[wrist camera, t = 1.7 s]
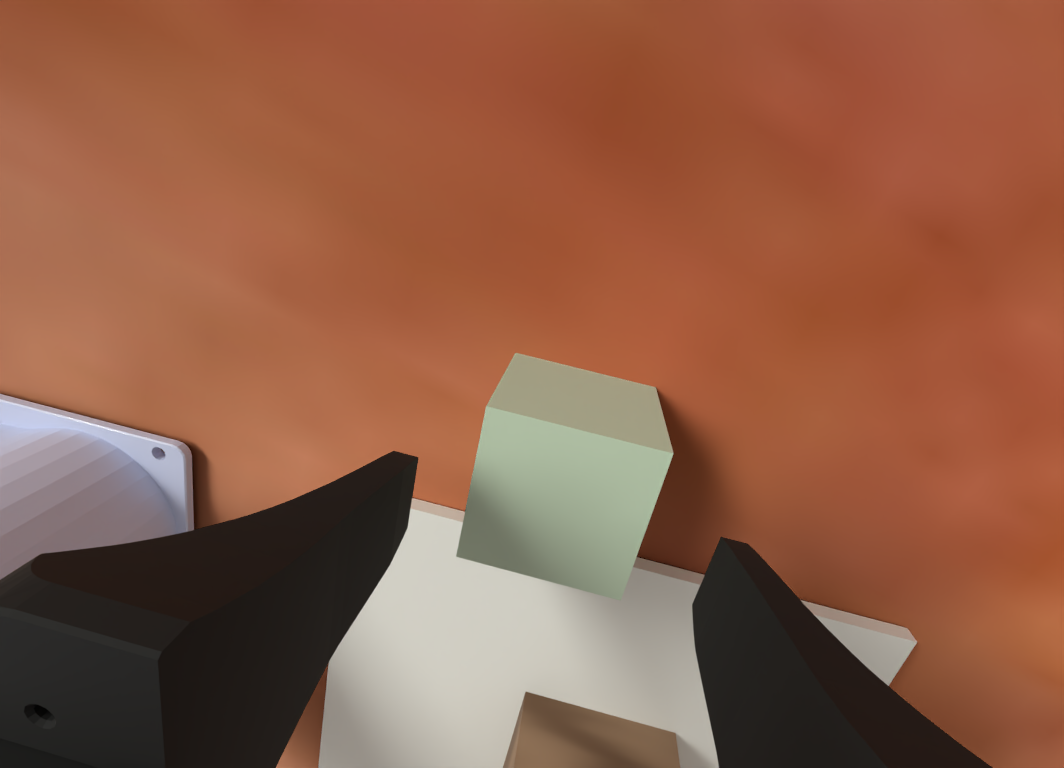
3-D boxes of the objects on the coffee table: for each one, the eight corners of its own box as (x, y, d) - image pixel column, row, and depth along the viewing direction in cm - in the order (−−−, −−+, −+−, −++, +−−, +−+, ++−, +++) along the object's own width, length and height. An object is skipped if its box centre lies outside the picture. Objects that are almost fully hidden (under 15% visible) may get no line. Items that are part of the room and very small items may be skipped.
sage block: (489, 472, 18) (456, 556, 14) (516, 352, 17) (486, 406, 12) (616, 505, 18) (620, 600, 14) (655, 386, 16) (673, 453, 12)
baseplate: (320, 793, 25) (314, 807, 25) (353, 482, 19) (345, 491, 18) (726, 911, 25) (729, 928, 24) (907, 628, 18) (917, 642, 17)
